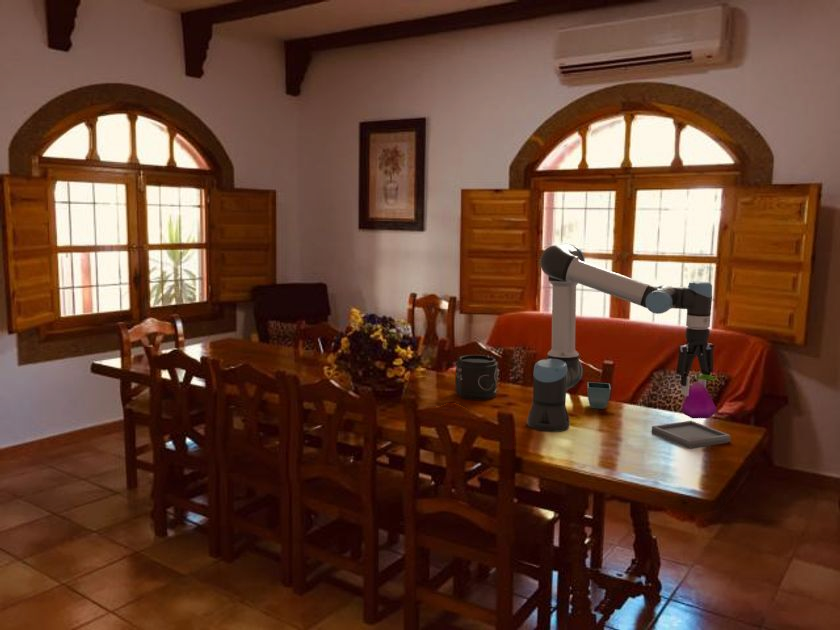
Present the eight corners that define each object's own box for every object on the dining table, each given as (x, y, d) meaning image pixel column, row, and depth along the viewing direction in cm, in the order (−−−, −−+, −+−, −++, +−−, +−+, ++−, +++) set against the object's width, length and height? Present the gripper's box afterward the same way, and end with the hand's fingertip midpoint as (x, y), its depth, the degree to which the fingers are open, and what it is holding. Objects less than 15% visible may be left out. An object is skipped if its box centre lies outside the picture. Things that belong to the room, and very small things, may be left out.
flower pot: (609, 411, 280) (611, 388, 279) (586, 409, 282) (587, 387, 281) (608, 405, 289) (609, 383, 288) (586, 403, 291) (587, 381, 289)
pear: (700, 422, 240) (696, 379, 238) (675, 415, 250) (671, 373, 248) (724, 413, 245) (720, 370, 243) (698, 406, 255) (694, 365, 252)
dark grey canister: (505, 393, 305) (506, 357, 302) (486, 403, 290) (486, 364, 287) (468, 387, 314) (468, 352, 312) (447, 396, 299) (447, 359, 297)
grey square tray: (689, 448, 237) (689, 441, 237) (651, 433, 254) (651, 426, 253) (730, 442, 245) (730, 435, 244) (690, 427, 261) (691, 420, 260)
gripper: (683, 331, 236) (679, 399, 239) (728, 327, 244) (723, 393, 247) (667, 327, 243) (663, 394, 246) (711, 324, 251) (706, 388, 254)
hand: (693, 393), depth 247 cm, fingers open, 7 cm apart
